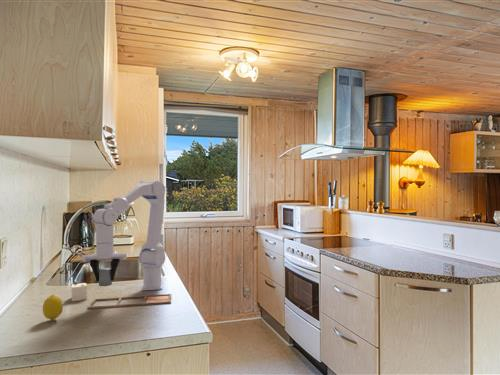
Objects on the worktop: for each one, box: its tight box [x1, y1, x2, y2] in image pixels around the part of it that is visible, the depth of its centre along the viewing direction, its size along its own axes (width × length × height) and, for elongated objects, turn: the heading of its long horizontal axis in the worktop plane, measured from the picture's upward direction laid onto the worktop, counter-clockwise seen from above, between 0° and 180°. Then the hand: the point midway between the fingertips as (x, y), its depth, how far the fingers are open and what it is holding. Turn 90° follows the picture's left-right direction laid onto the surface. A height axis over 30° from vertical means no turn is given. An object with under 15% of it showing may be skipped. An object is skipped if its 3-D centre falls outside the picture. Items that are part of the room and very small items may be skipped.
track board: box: [87, 293, 172, 310], centre depth 134 cm, size 10×28×1 cm, turn 101°
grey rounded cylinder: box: [98, 267, 113, 287], centre depth 132 cm, size 4×4×6 cm
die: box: [71, 282, 88, 302], centre depth 139 cm, size 5×5×5 cm
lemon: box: [42, 294, 64, 321], centre depth 116 cm, size 6×6×8 cm
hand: (105, 280), depth 132 cm, fingers closed on grey rounded cylinder, 4 cm apart
